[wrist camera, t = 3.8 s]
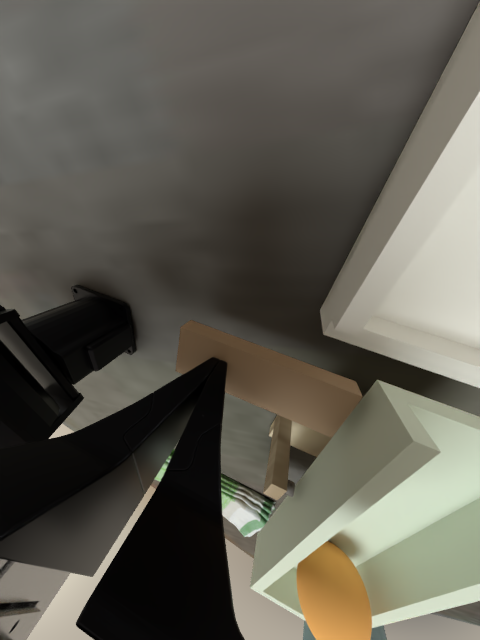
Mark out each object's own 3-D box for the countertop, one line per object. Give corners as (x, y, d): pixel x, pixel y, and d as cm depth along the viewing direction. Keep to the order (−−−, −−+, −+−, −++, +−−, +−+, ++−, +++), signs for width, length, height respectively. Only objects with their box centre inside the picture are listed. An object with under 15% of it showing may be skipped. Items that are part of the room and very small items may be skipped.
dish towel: (251, 520, 38) (247, 546, 35) (156, 469, 41) (145, 489, 38) (279, 497, 29) (276, 529, 26) (153, 434, 32) (138, 456, 29)
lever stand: (267, 425, 20) (252, 505, 14) (294, 377, 16) (287, 465, 10) (369, 470, 18) (396, 579, 13) (430, 430, 14) (511, 569, 8)
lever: (167, 485, 19) (145, 526, 16) (191, 312, 10) (153, 336, 7) (327, 572, 16) (333, 637, 13) (545, 440, 7) (682, 548, 5)
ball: (293, 663, 9) (318, 582, 9) (284, 566, 13) (302, 511, 13) (376, 716, 9) (400, 628, 9) (340, 598, 13) (358, 539, 13)
